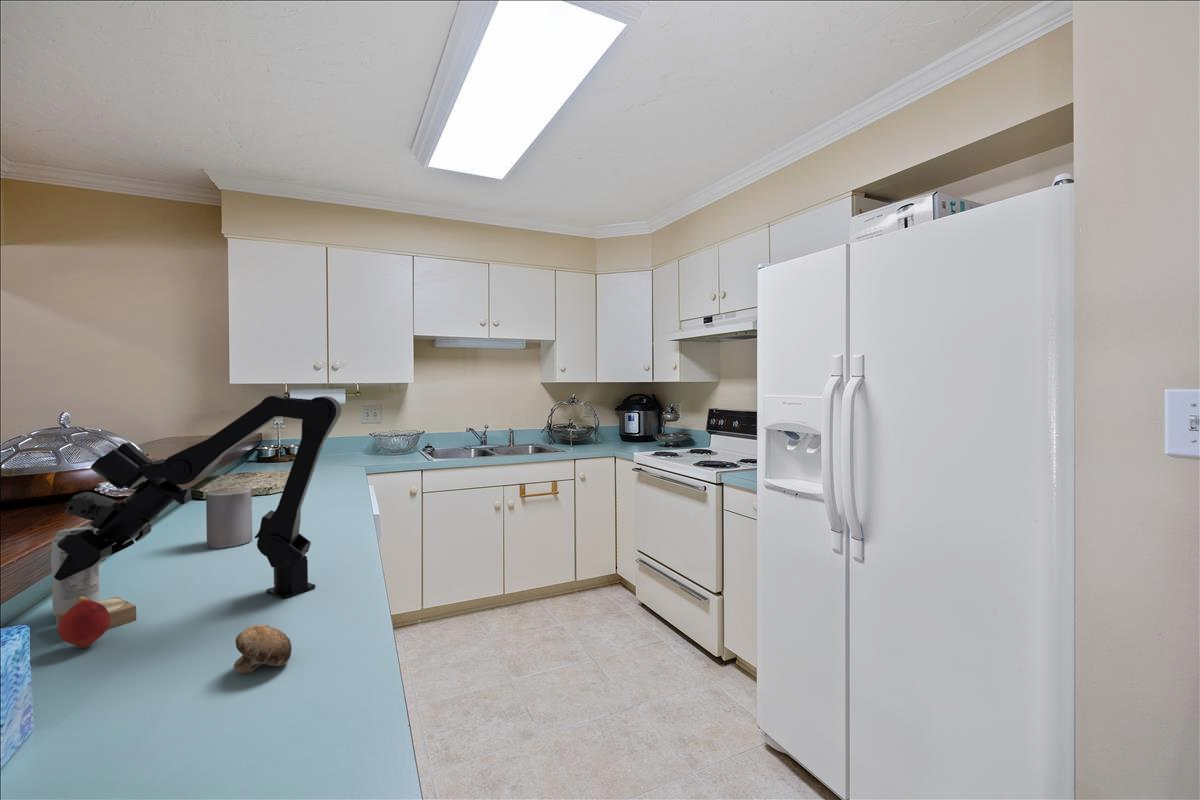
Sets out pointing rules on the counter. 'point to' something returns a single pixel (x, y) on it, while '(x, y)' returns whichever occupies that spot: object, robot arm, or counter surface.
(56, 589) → the energy drink can
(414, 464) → the counter surface
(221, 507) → the pillar candle
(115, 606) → the pedestal
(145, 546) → the counter surface
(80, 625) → the pomegranate
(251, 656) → the mushroom
